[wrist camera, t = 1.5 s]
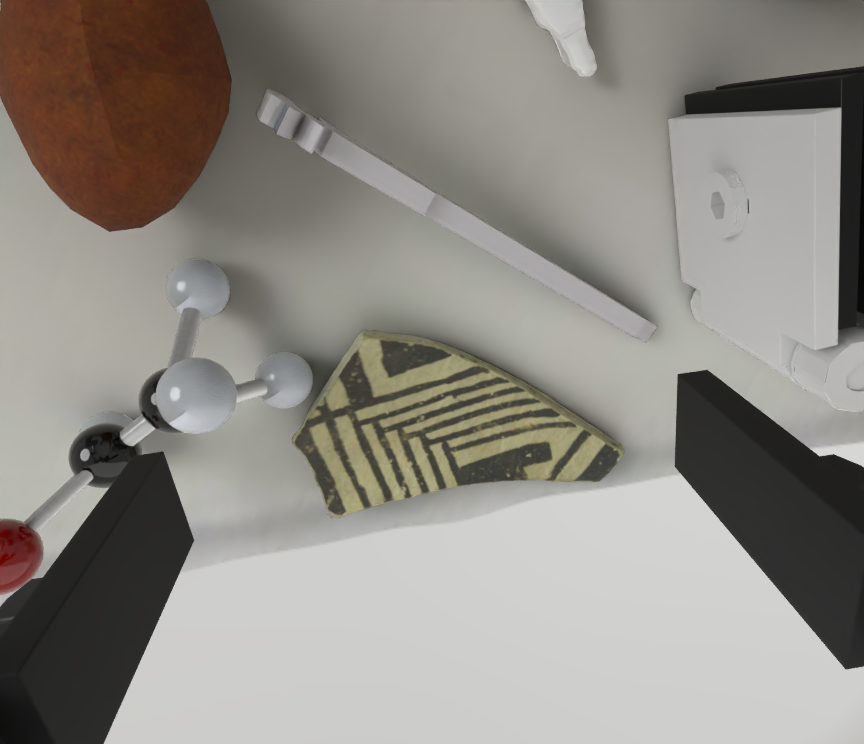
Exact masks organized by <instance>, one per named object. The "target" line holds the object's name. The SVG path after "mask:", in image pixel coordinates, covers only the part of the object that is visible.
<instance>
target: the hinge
mask: <svg viewBox="0 0 864 744" xmlns="http://www.w3.org/2000/svg"><path fill="white" fill-rule="evenodd" d="M685 108H686V115H682V116H679V117H675V118H671V119H668V124H669V136H670V148H671V160H672V172H673V183H674V195H675V207H676V219H677V231H678V243H679V255H680V267H681V278H682V281H683V282H684V283H686V284H688V285H690V286H692V287H694V288H696V290H695V292H694V294H693V296H692V298H691V301H690V304H691V310H692V313H693V317H694V319H695V320H697V321H698V322H699V323H701V324H703V325H704V326H706V327H707V328H709V329H711V330H712V331H714V332H715V333H717V334H718V335H720V336H722V337H724V338H725V339H727V340H728V341H730V342H732V343H733V344H735V345H736V346H738V347H740V348H741V349H743V350H744V351H746V352H748V353H749V354H751V355H752V356H754V357H756V358H757V359H759V360H761V361H762V362H764V363H765V364H767V365H769V366H770V367H772V368H773V369H775V370H777V371H778V372H780V373H781V374H783V375H785V376H786V377H788V378H789V379H791V380H793V381H794V382H795V383H796V384H798V385H799V386H800V387H801V388H804V389H805V390H806V391H810V392H812V393H813V394H815V395H816V396H818V397H820V398H821V399H823V400H824V401H826V402H828V403H829V404H831V405H832V406H833V407H834V408H835V409H838V410H843V411H850V412H861V411H863V410H864V66H863V67H855V68H848V69H840V70H832V71H825V72H817V73H810V74H802V75H794V76H787V77H779V78H771V79H764V80H756V81H749V82H741V83H733V84H727V85H723V86H720V87H716V90H711V91H703V92H696V93H692V94H689V95H685ZM858 324H860V325H858Z"/></svg>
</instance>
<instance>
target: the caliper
mask: <svg viewBox="0 0 864 744" xmlns="http://www.w3.org/2000/svg"><path fill="white" fill-rule="evenodd" d="M256 115H257V117H258V119H259V121H261V122H263V123H264V124H266V125H268V126H269V127H271V128H273V129H275V131H276V134H277V135H279V136H281V137H284V138H287V139H291V138H292V139H293V140H294V141H295V142H296V143H297V144H298V145H299V146H301V147H302V148H303V149H305V150H306V151H307V152H309V153H310V154H312V153H313V151H314V152H316V153H318V154H319V155H320V156H321V157H323V158H324V159H326V160H328V161H329V162H331V163H333V164H334V165H336V166H338V167H340V168H341V169H343V170H345V171H347V172H348V173H350V174H352V175H353V176H355V177H357V178H359V179H360V180H362V181H364V182H366V183H367V184H369V185H371V186H372V187H374V188H376V189H378V190H379V191H381V192H383V193H385V194H386V195H388V196H390V197H391V198H393V199H395V200H397V201H398V202H400V203H402V204H404V205H405V206H407V207H409V208H410V209H412V210H414V211H416V212H417V213H419V214H421V215H424V216H426V217H428V218H430V219H431V220H433V221H435V222H436V223H438V224H440V225H442V226H443V227H445V228H447V229H448V230H450V231H452V232H454V233H455V234H457V235H459V236H460V237H462V238H464V239H466V240H467V241H469V242H471V243H473V244H474V245H476V246H478V247H479V248H481V249H483V250H485V251H486V252H488V253H490V254H491V255H493V256H495V257H497V258H498V259H500V260H502V261H503V262H505V263H507V264H509V265H510V266H512V267H514V268H516V269H517V270H519V271H521V272H522V273H524V274H526V275H528V276H529V277H531V278H533V279H534V280H536V281H538V282H540V283H541V284H543V285H545V286H546V287H548V288H550V289H552V290H553V291H555V292H557V293H559V294H560V295H562V296H564V297H565V298H567V299H569V300H571V301H572V302H574V303H576V304H577V305H579V306H581V307H583V308H584V309H586V310H588V311H590V312H591V313H593V314H595V315H596V316H598V317H600V318H602V319H603V320H605V321H607V322H608V323H610V324H612V325H614V326H615V327H617V328H619V329H621V330H622V331H624V332H626V333H627V334H629V335H631V336H633V337H636V338H638V339H639V340H641V341H643V342H645V343H646V342H647V340H648V339H649V338H650V336H651V335H652V334H653V332H654V331H655V330H656V328H657V327H658V326H656V325H655V324H653V323H652V322H650V321H648V320H647V319H645V318H643V317H642V316H640V315H638V314H637V313H635V312H634V311H632V310H631V309H629V308H628V307H626V306H624V305H623V304H621V303H619V302H618V301H616V300H614V299H613V298H611V297H610V296H608V295H606V294H605V293H603V292H601V291H600V290H598V289H596V288H595V287H593V286H591V285H590V284H588V283H586V282H585V281H583V280H581V279H580V278H578V277H576V276H575V275H573V274H572V273H570V272H568V271H567V270H565V269H563V268H562V267H560V266H558V265H557V264H555V263H553V262H552V261H550V260H548V259H547V258H545V257H543V256H542V255H540V254H539V253H537V252H535V251H534V250H532V249H530V248H529V247H527V246H525V245H524V244H522V243H520V242H519V241H517V240H515V239H514V238H512V237H510V236H509V235H507V234H506V233H504V232H502V231H501V230H499V229H497V228H496V227H494V226H492V225H491V224H489V223H487V222H486V221H484V220H482V219H481V218H479V217H478V216H476V215H474V214H473V213H471V212H469V211H468V210H466V209H464V208H463V207H461V206H459V205H458V204H456V203H454V202H453V201H451V200H449V199H448V198H446V197H445V196H443V195H441V194H440V193H438V192H436V191H435V190H433V189H431V188H430V187H428V186H426V185H425V184H424V183H422V182H421V181H420V180H418V179H416V178H415V177H413V176H411V175H410V174H408V173H406V172H405V171H403V170H401V169H400V168H398V167H396V166H395V165H393V164H392V163H390V162H388V161H387V160H385V159H383V158H382V157H380V156H378V155H376V154H375V153H373V152H371V151H369V150H368V149H366V148H364V147H363V146H361V145H359V144H358V143H356V142H355V141H353V140H352V139H350V138H349V137H348V136H346V135H345V134H343V133H342V132H341V131H339V130H338V129H336V128H335V127H334V126H332V125H331V124H329V123H328V122H326V121H325V120H323V119H322V118H320V117H319V118H318V120H317V119H316V118H314V117H312V116H311V115H309V114H308V113H306V112H304V111H303V110H301V109H299V108H298V107H297V106H296V105H295V104H294V103H293V102H292V100H291V99H289V98H287V97H286V96H284V95H282V94H280V93H278V92H276V91H273V90H270V89H267V90H266V92H265V94H264V96H263V98H262V101H261V103H260V105H259V107H258V109H257V112H256Z"/></svg>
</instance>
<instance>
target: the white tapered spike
mask: <svg viewBox="0 0 864 744" xmlns="http://www.w3.org/2000/svg"><path fill="white" fill-rule="evenodd" d="M525 1H526V3H527V4H528V6H529V8H530V10H531V12H532V14H533V17H534V19H535V21H536V23H537V25H538V26H539V27H541V28H543V29H546V30H549V32H550V33H551V35H552V37H553V39H554V41H555V43H556V45H557V47H558V50H559V53H560V56H561V59H562V60H563V62H564V63H566V64H567V65H568V66H570V67H571V68H572V69H575V70H576V71H577V72H578V75H579V76H581V77H589V76H592V75H593V74H594V72H595V71H596V69H597V63H596V62H595V59H594V57H595V54H594V52H593V50H592V49H591V47H590V45H589V42H588V39H587V35H586V31H585V27H584V26H585V20H584V19H585V16H584V11H583V0H525Z"/></svg>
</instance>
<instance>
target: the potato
mask: <svg viewBox="0 0 864 744" xmlns="http://www.w3.org/2000/svg"><path fill="white" fill-rule="evenodd" d="M230 91H231V76H230V72H229V68H228V65H227V61H226V57H225V54H224V50H223V46H222V43H221V40H220V37H219V35H218V32H217V29H216V26H215V24H214V21H213V18H212V15H211V12H210V10H209V7H208V5H207V2H206V0H1V10H0V97H1V99H2V102H3V104H4V106H5V108H6V111H7V113H8V115H9V117H10V119H11V121H12V123H13V125H14V127H15V129H16V131H17V133H18V135H19V137H20V139H21V141H22V143H23V145H24V147H25V149H26V151H27V153H28V155H29V157H30V159H31V161H32V163H33V165H34V166H35V168H36V169H37V171H38V172H39V173H40V175H41V176H42V177H43V179H44V180H45V182H46V183H47V184H48V186H49V187H50V189H51V190H52V191H53V192H54V193H55V194H56V195H57V196H58V197H59V198H60V199H61V200H62V201H63V202H64V203H65V204H66V205H67V206H68V207H69V208H70V209H71V210H73V211H75V212H76V213H78V214H80V215H81V216H83V217H85V218H87V219H88V220H90V221H92V222H94V223H95V224H97V225H99V226H101V227H102V228H104V229H106V230H108V231H109V232H111V231H118V230H126V229H133V228H141V227H144V226H145V225H147V224H149V223H150V222H152V221H154V220H155V219H157V218H159V217H160V216H162V215H163V214H165V213H167V212H168V211H170V210H172V209H173V208H175V207H176V205H177V204H178V203H179V202H180V200H181V199H182V198H183V196H184V195H185V194H186V193H187V191H188V190H189V189H190V187H191V186H192V185H193V184H194V182H195V181H196V180H197V178H198V177H199V175H200V173H201V171H202V169H203V168H204V166H205V164H206V162H207V160H208V158H209V156H210V154H211V152H212V150H213V149H214V147H215V145H216V142H217V140H218V137H219V135H220V132H221V130H222V127H223V125H224V122H225V119H226V117H227V114H228V112H229V102H230Z"/></svg>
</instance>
